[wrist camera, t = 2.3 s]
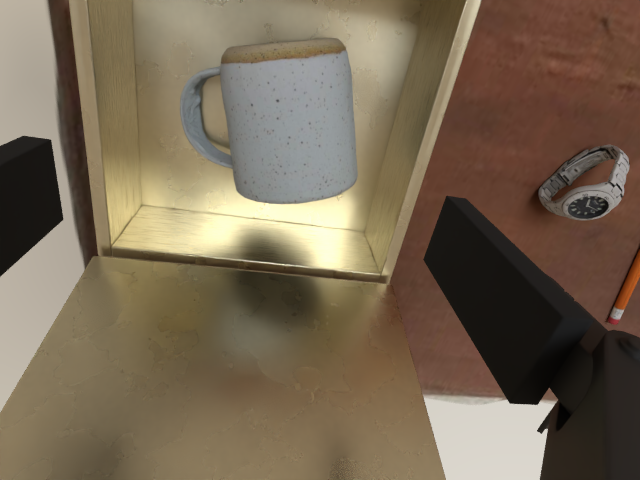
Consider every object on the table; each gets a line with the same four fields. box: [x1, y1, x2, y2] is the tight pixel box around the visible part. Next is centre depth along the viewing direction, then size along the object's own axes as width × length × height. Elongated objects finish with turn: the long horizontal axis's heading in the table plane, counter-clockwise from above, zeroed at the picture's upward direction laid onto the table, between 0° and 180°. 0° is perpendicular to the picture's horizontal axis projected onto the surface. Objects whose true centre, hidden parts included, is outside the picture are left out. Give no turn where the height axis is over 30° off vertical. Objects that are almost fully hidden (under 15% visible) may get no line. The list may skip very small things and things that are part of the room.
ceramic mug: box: [180, 38, 358, 204], centre depth 22 cm, size 11×8×8 cm
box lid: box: [0, 256, 446, 480], centre depth 19 cm, size 19×19×5 cm
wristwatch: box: [538, 145, 629, 220], centre depth 29 cm, size 4×6×5 cm, turn 140°
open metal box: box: [69, 0, 482, 284], centre depth 24 cm, size 18×19×7 cm
